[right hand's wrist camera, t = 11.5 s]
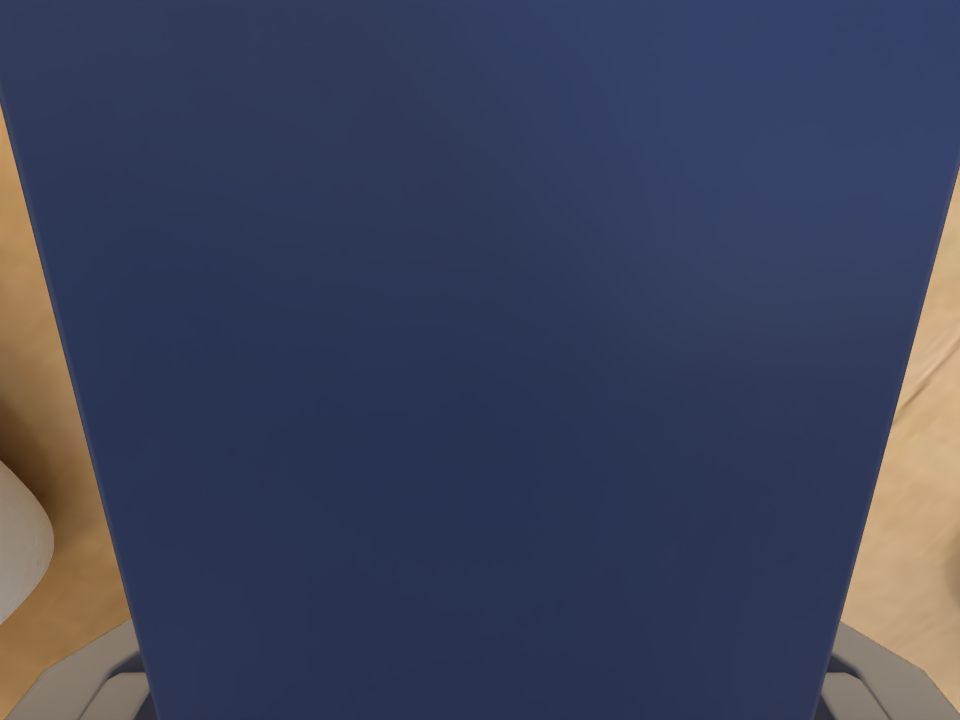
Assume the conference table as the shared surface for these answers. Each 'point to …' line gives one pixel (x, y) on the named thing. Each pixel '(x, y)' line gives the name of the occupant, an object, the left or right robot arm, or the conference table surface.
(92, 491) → the conference table surface
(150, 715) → the right robot arm
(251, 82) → the bar
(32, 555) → the grey rounded piece
